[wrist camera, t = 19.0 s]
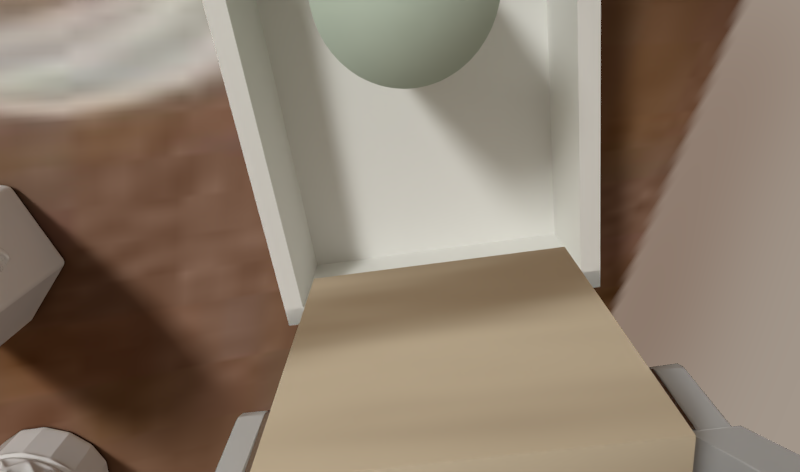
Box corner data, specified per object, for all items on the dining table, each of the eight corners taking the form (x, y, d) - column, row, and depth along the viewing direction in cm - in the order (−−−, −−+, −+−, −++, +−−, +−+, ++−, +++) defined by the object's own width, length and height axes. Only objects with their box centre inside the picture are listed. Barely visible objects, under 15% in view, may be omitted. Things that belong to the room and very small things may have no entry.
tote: (214, -114, 21) (162, -150, 16) (556, -175, 20) (601, -230, 16) (307, 273, 28) (289, 325, 23) (566, 240, 27) (600, 286, 22)
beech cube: (313, 278, 11) (246, 483, 6) (564, 246, 10) (696, 436, 6) (357, 463, 13) (331, 726, 8) (569, 440, 12) (670, 700, 8)
